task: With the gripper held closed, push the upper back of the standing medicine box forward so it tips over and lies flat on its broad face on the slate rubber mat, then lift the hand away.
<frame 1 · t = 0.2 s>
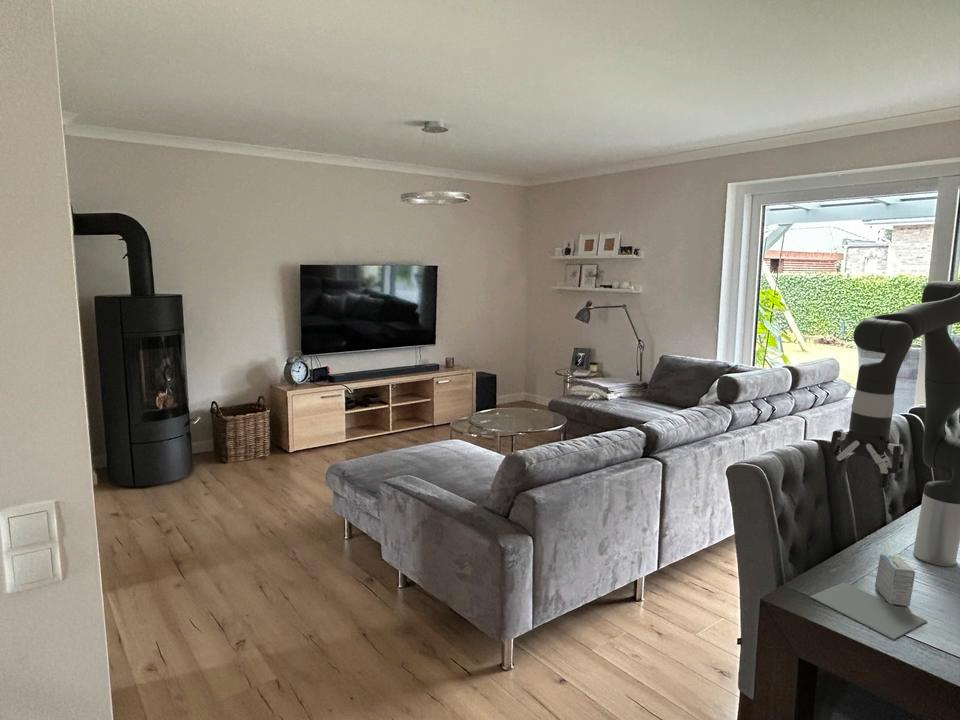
hand: (861, 482, 137), 29 cm above the table, tool pointing down, fingers open, 8 cm apart
medicine box: (891, 597, 145), on the table, touching slate mat
slate mat: (866, 609, 139), on the table
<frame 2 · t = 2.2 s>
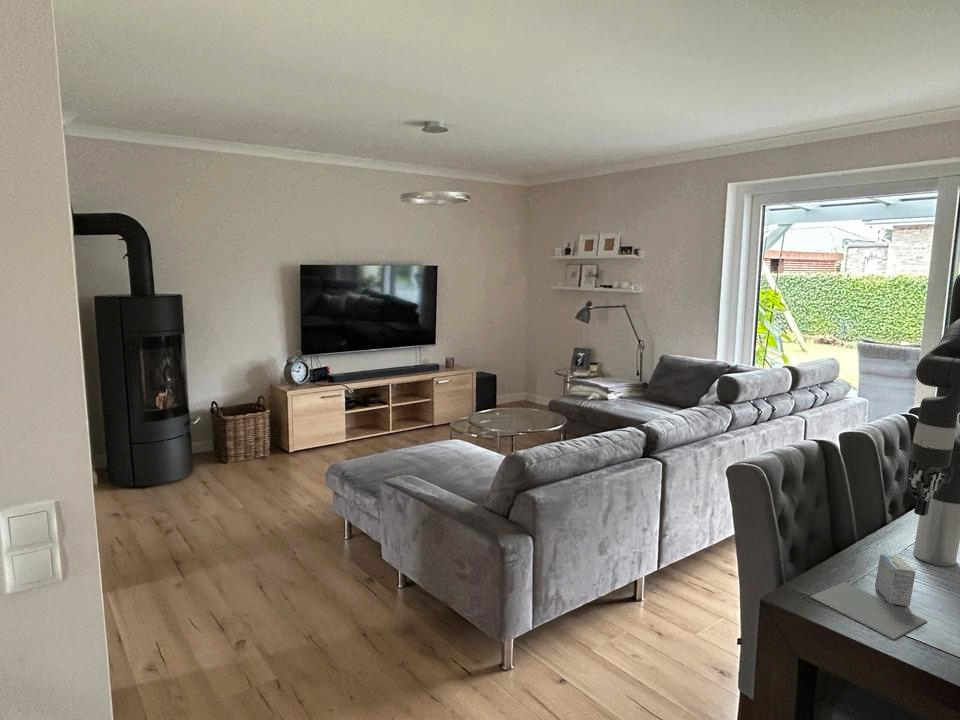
hand: (920, 514, 145), 19 cm above the table, tool pointing down, fingers closed
nothing on the table moved.
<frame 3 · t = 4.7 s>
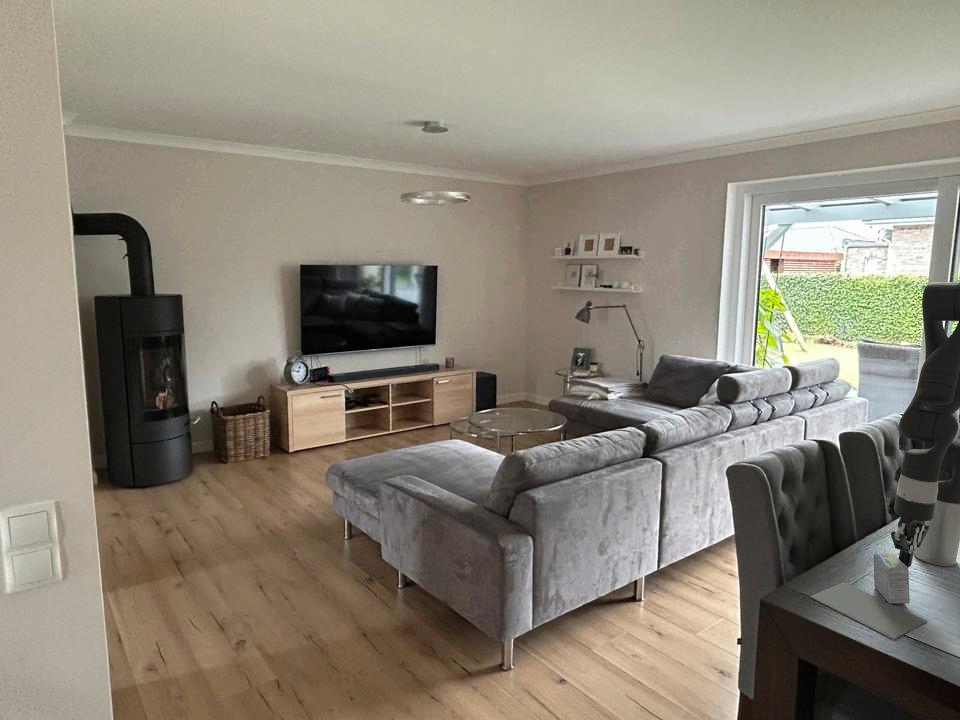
hand: (904, 565, 145), 7 cm above the table, tool pointing down, fingers closed
medicine box: (891, 596, 145), on the table, touching gripper, slate mat
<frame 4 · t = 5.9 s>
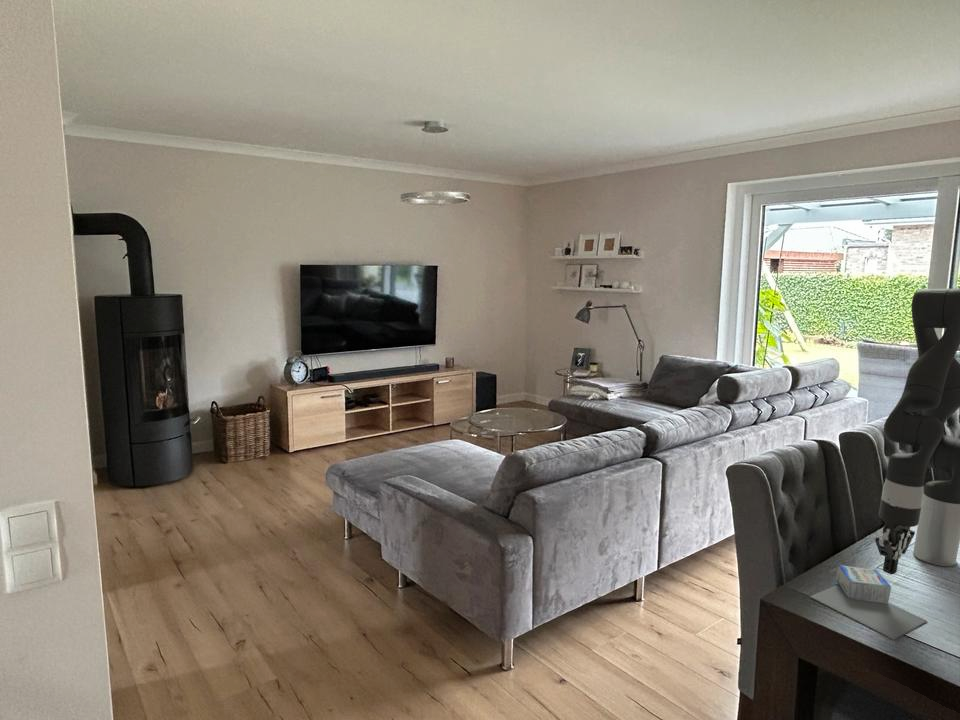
hand: (889, 572, 142), 7 cm above the table, tool pointing down, fingers closed
medicine box: (884, 586, 145), point 2 cm above the table, touching slate mat
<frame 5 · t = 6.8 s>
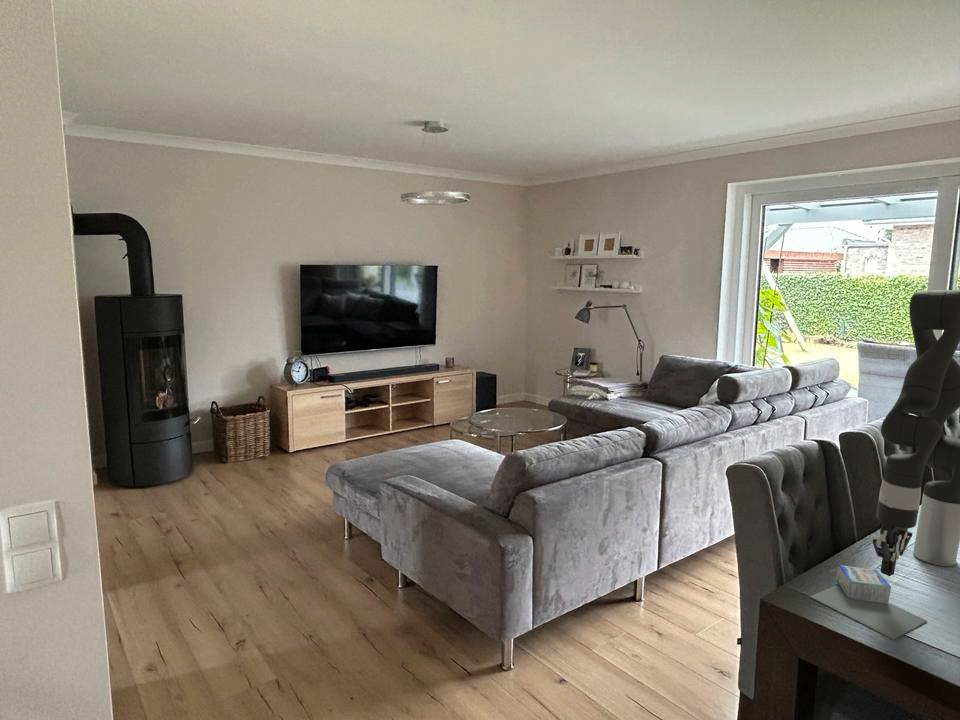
hand: (886, 573, 141), 7 cm above the table, tool pointing down, fingers closed
nothing on the table moved.
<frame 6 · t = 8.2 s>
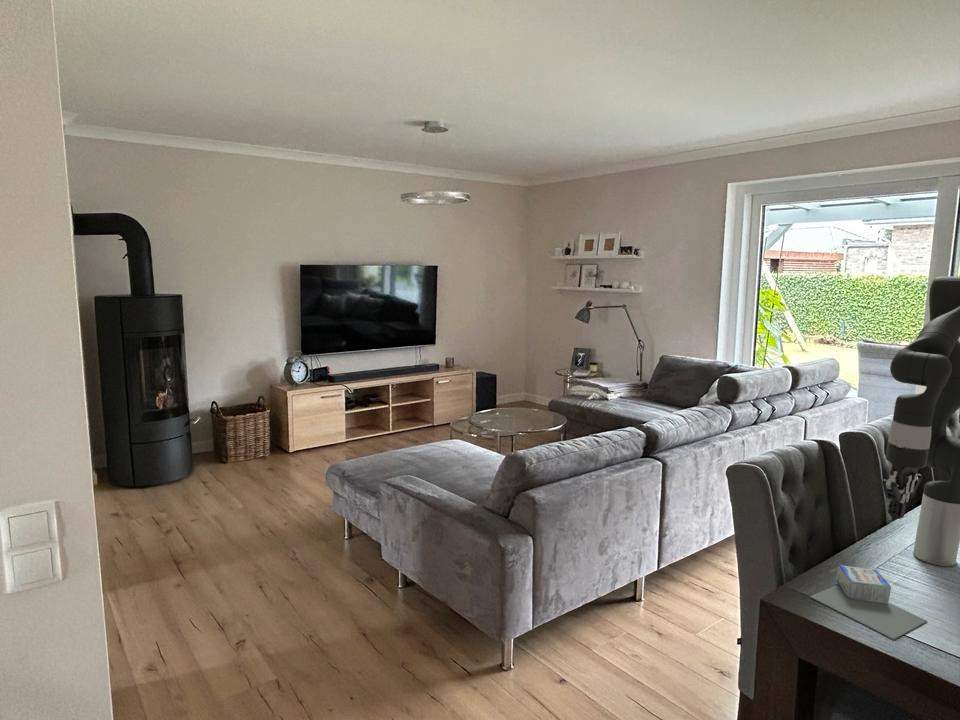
hand: (896, 516, 139), 21 cm above the table, tool pointing down, fingers closed
nothing on the table moved.
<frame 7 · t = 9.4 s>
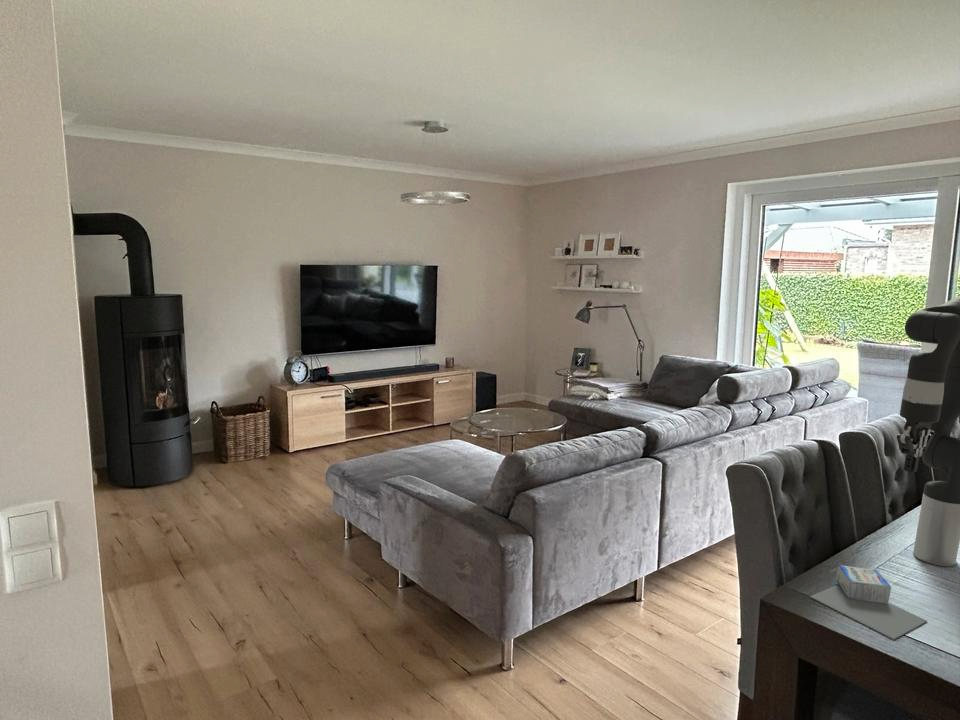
hand: (910, 471, 145), 29 cm above the table, tool pointing down, fingers closed
nothing on the table moved.
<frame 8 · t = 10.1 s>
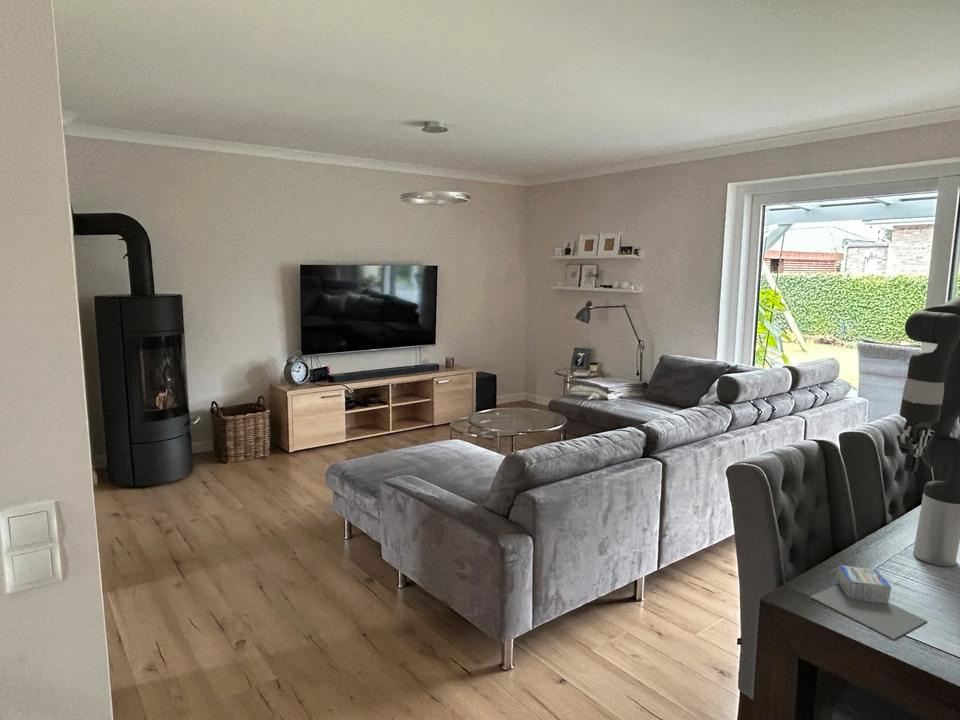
hand: (910, 471, 145), 29 cm above the table, tool pointing down, fingers closed
nothing on the table moved.
at the end: medicine box tilted 89°; medicine box inside the target area (3.8 cm from its centre), point 2.4 cm above the table; medicine box touching slate mat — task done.
